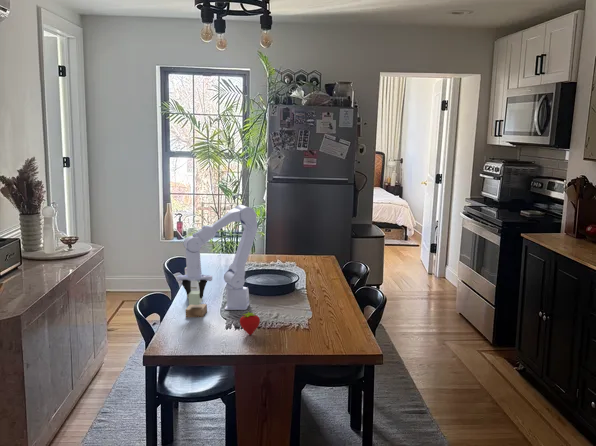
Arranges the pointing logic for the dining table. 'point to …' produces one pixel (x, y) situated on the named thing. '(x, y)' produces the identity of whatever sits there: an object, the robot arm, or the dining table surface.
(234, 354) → the dining table surface
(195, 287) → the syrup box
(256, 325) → the strawberry
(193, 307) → the block
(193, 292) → the green cube
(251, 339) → the dining table surface
